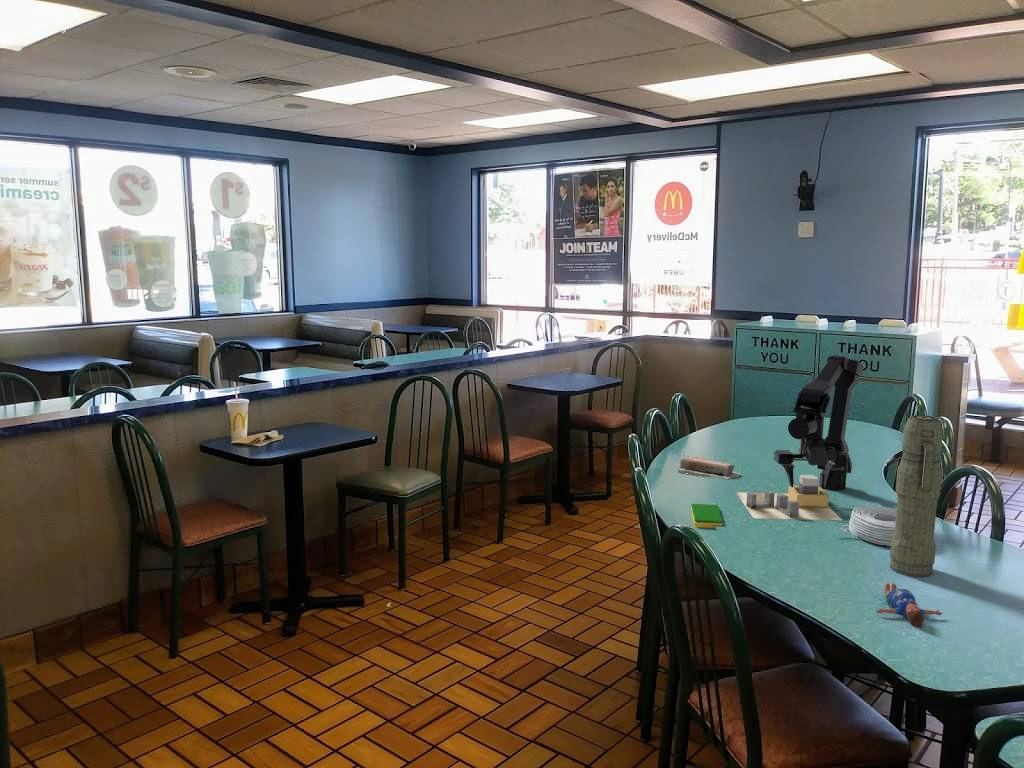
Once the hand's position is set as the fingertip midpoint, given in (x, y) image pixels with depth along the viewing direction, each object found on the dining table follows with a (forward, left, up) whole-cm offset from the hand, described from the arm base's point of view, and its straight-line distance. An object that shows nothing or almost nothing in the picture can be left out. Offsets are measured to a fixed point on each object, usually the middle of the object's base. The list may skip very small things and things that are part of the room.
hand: (808, 487), depth 226 cm
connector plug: (0, 0, -4) cm, 4 cm away
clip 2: (+8, +9, -5) cm, 13 cm away
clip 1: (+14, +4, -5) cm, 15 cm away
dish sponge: (+30, +13, -6) cm, 33 cm away
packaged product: (+22, -31, -6) cm, 39 cm away
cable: (-13, +23, -6) cm, 27 cm away
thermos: (-10, +45, -6) cm, 46 cm away
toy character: (0, +67, -6) cm, 67 cm away
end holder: (0, 0, -5) cm, 5 cm away
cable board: (+7, +3, -5) cm, 9 cm away
